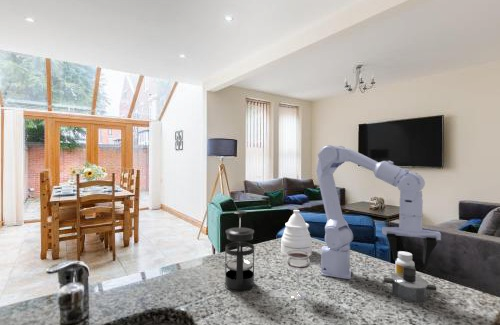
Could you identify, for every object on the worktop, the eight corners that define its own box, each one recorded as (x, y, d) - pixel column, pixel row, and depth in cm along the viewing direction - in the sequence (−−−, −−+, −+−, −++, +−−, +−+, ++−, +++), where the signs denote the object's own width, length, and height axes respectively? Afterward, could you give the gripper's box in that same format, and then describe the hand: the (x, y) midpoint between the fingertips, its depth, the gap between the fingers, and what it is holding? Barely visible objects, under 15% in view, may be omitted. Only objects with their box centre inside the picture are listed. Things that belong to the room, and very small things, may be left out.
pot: (384, 297, 78) (385, 283, 78) (382, 284, 86) (382, 272, 86) (439, 307, 74) (439, 292, 73) (431, 292, 82) (431, 279, 81)
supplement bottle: (417, 288, 84) (417, 256, 84) (398, 286, 85) (398, 255, 85) (410, 280, 89) (411, 251, 89) (392, 279, 91) (393, 249, 90)
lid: (393, 285, 77) (393, 271, 77) (390, 273, 85) (390, 260, 85) (431, 291, 74) (431, 276, 74) (423, 278, 82) (424, 264, 82)
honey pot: (311, 258, 108) (312, 213, 108) (279, 255, 111) (279, 211, 111) (312, 248, 121) (312, 207, 121) (282, 245, 124) (283, 206, 124)
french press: (225, 277, 91) (225, 208, 91) (253, 277, 91) (254, 208, 91) (223, 295, 79) (223, 215, 79) (255, 294, 80) (256, 215, 79)
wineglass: (290, 287, 84) (291, 248, 84) (312, 292, 81) (313, 252, 81) (282, 297, 78) (283, 255, 78) (306, 303, 75) (306, 259, 75)
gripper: (384, 215, 78) (383, 262, 79) (444, 219, 73) (443, 270, 73) (382, 210, 85) (381, 254, 85) (437, 214, 80) (436, 261, 80)
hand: (409, 261), depth 80 cm, fingers open, 7 cm apart
